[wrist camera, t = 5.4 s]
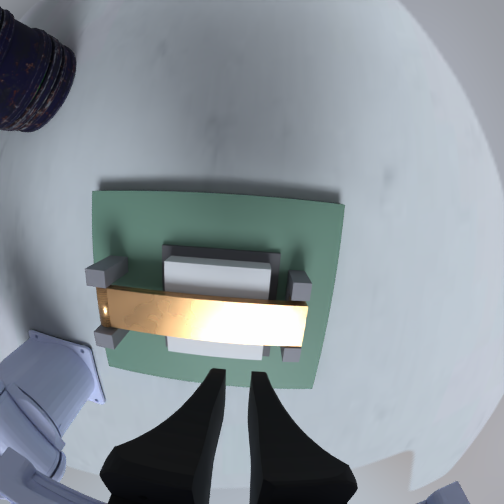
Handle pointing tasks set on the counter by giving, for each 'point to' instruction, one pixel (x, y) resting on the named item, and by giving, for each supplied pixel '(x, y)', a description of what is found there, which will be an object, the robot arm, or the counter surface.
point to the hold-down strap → (203, 316)
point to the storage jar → (31, 75)
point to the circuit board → (219, 229)
